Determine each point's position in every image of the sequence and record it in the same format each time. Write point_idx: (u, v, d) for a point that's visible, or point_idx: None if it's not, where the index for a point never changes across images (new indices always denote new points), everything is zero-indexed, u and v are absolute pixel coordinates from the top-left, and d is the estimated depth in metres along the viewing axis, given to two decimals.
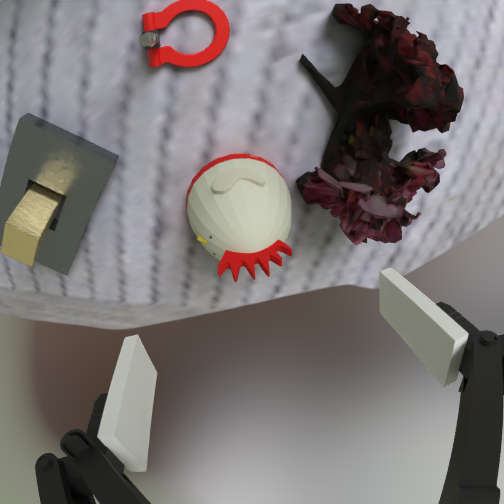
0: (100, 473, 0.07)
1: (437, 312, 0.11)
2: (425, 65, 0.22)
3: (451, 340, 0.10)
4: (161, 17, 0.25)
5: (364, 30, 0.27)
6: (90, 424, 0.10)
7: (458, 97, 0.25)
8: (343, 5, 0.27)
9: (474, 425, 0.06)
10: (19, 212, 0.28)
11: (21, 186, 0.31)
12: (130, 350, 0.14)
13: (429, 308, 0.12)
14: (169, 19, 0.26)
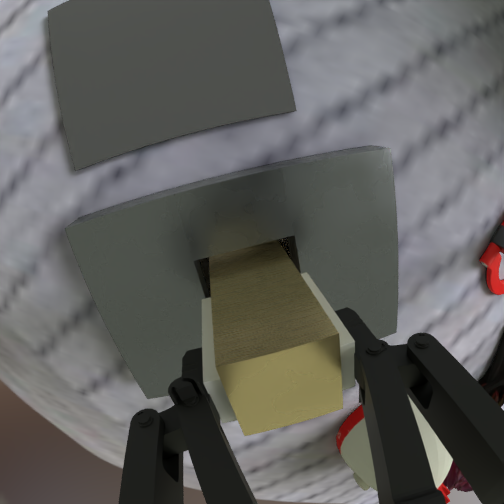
0: (201, 424, 0.09)
1: (331, 317, 0.13)
2: None
3: None
4: None
5: None
6: None
7: None
8: None
9: (387, 439, 0.07)
10: None
11: (266, 230, 0.18)
12: None
13: None
14: None
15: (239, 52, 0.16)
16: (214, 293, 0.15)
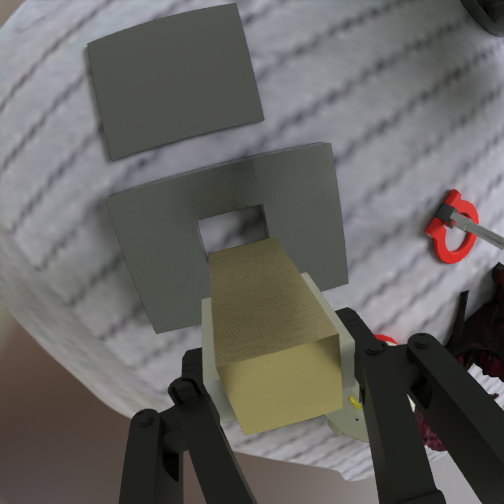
0: (201, 424, 0.09)
1: (331, 317, 0.13)
2: None
3: None
4: (459, 205, 0.32)
5: None
6: None
7: None
8: None
9: (387, 439, 0.07)
10: None
11: (243, 200, 0.26)
12: None
13: None
14: (460, 211, 0.32)
15: (225, 80, 0.24)
16: (214, 293, 0.15)
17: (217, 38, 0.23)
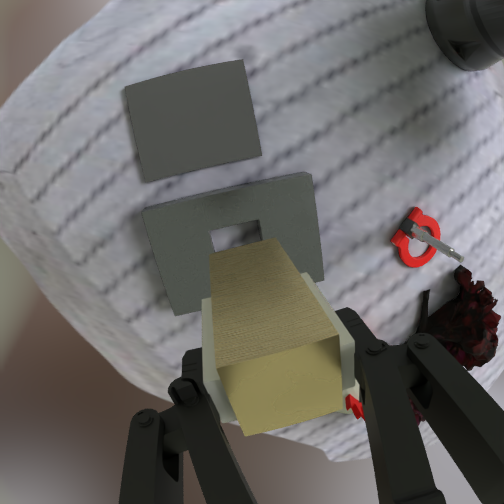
0: (201, 424, 0.09)
1: (331, 317, 0.13)
2: (494, 334, 0.38)
3: None
4: (421, 219, 0.42)
5: (467, 293, 0.45)
6: None
7: (493, 355, 0.40)
8: (465, 269, 0.47)
9: (387, 439, 0.07)
10: None
11: (245, 216, 0.36)
12: None
13: None
14: (422, 225, 0.42)
15: (233, 124, 0.34)
16: (214, 294, 0.15)
17: (227, 89, 0.33)
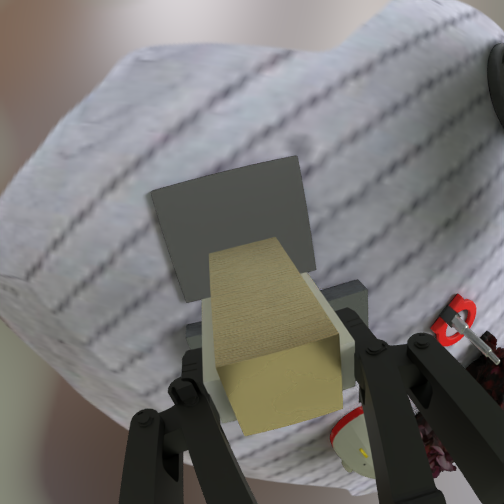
0: (201, 424, 0.09)
1: (331, 317, 0.13)
2: None
3: None
4: (461, 305, 0.38)
5: None
6: None
7: None
8: (490, 335, 0.43)
9: (387, 439, 0.07)
10: None
11: None
12: None
13: None
14: (461, 309, 0.39)
15: (286, 238, 0.31)
16: (214, 293, 0.15)
17: (279, 196, 0.30)
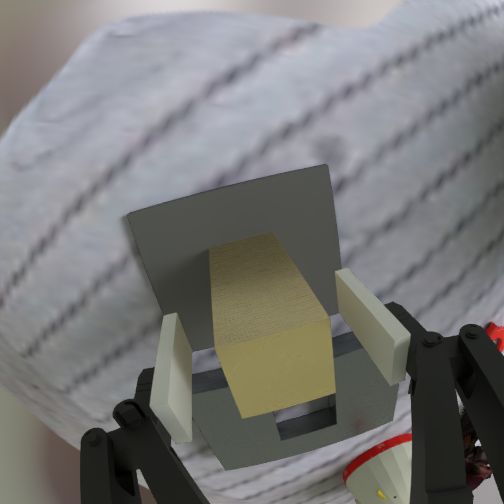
0: (149, 445, 0.09)
1: (382, 312, 0.12)
2: None
3: (391, 340, 0.11)
4: (495, 334, 0.31)
5: None
6: (136, 397, 0.12)
7: None
8: None
9: (430, 429, 0.07)
10: None
11: None
12: (171, 326, 0.15)
13: (375, 308, 0.13)
14: (494, 339, 0.31)
15: (309, 274, 0.23)
16: (214, 283, 0.16)
17: (303, 220, 0.22)
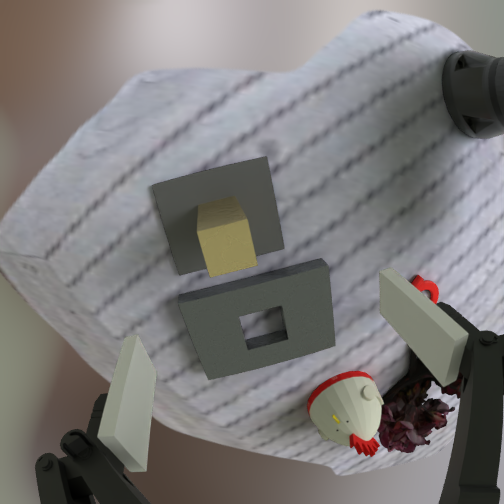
0: (100, 473, 0.07)
1: (437, 312, 0.11)
2: None
3: (451, 340, 0.10)
4: (422, 285, 0.47)
5: None
6: (90, 424, 0.10)
7: None
8: None
9: (474, 425, 0.06)
10: None
11: (269, 303, 0.41)
12: (130, 350, 0.14)
13: (429, 308, 0.12)
14: (423, 289, 0.47)
15: (258, 222, 0.39)
16: (199, 215, 0.32)
17: (253, 189, 0.38)
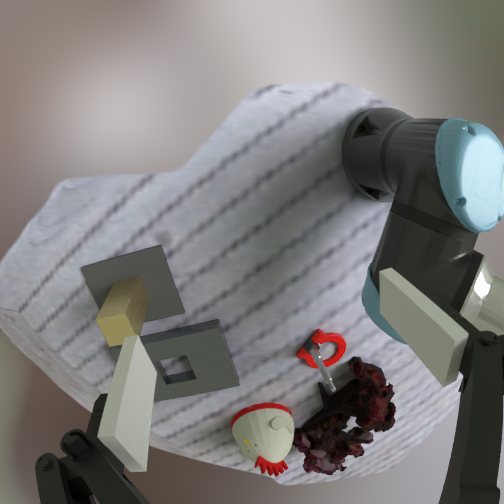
0: (100, 473, 0.07)
1: (437, 312, 0.11)
2: (377, 420, 0.51)
3: (451, 340, 0.10)
4: (324, 338, 0.56)
5: (360, 380, 0.58)
6: (90, 424, 0.10)
7: (389, 427, 0.53)
8: (357, 361, 0.59)
9: (474, 425, 0.06)
10: (131, 307, 0.39)
11: (176, 353, 0.50)
12: (130, 350, 0.14)
13: (429, 308, 0.12)
14: (325, 341, 0.56)
15: (160, 294, 0.48)
16: (106, 299, 0.41)
17: (153, 270, 0.47)
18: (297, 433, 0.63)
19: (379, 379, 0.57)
